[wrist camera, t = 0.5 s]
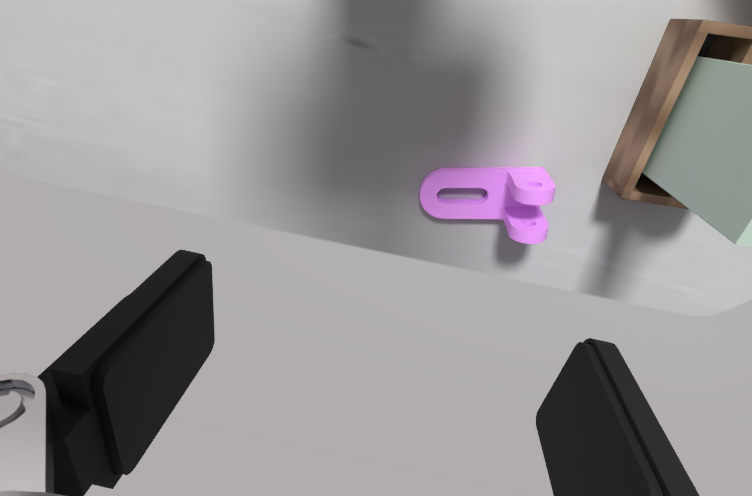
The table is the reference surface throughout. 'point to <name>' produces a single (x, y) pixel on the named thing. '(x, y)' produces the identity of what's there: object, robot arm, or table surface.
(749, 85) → the green board
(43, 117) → the table surface
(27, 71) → the table surface
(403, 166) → the table surface
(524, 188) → the bracket
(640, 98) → the walnut rack
